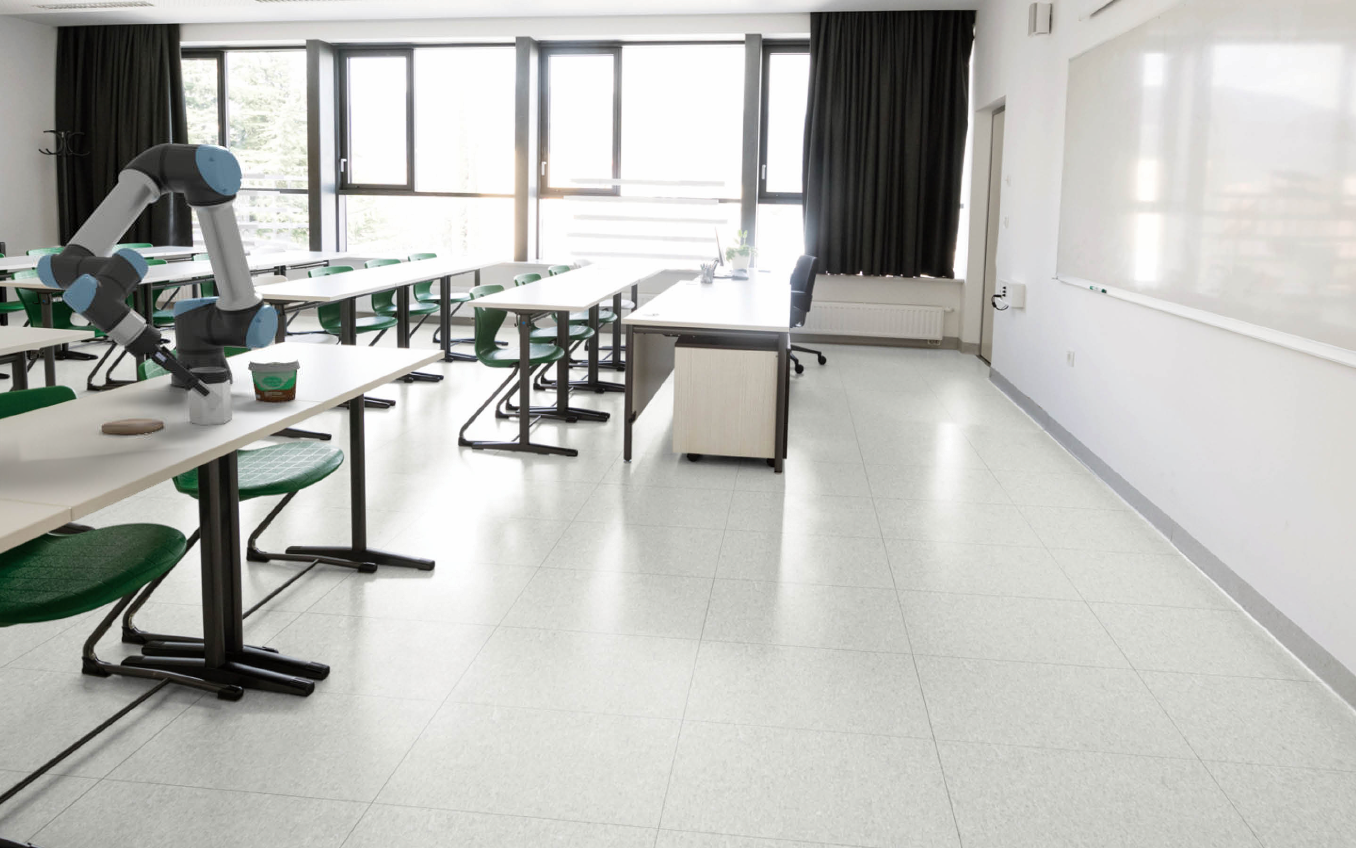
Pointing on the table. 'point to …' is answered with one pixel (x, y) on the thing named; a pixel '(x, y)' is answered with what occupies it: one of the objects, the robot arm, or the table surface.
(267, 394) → the food container
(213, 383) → the jar
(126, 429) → the candle base
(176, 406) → the table surface
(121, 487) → the table surface
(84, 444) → the table surface
